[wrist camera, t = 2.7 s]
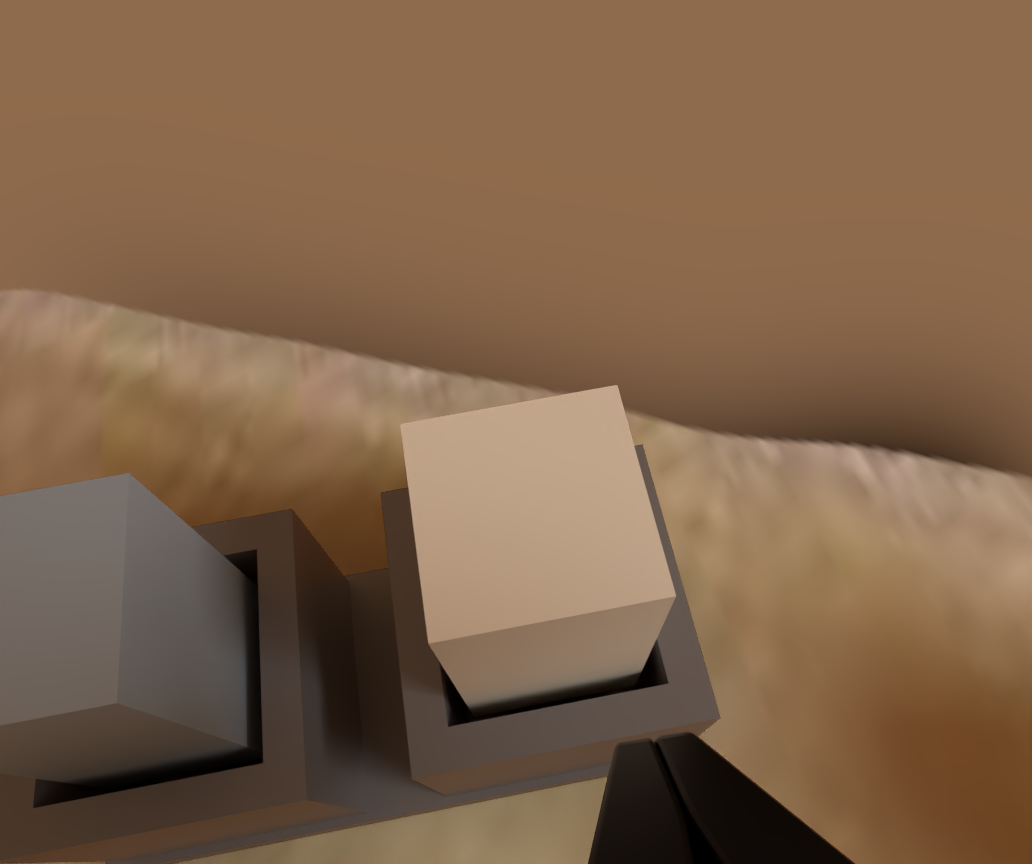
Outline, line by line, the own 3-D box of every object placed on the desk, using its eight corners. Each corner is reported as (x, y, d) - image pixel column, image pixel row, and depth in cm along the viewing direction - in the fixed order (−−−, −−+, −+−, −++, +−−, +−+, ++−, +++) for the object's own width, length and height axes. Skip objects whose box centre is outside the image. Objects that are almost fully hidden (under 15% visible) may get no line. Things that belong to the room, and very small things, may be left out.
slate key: (274, 756, 17) (116, 703, 11) (108, 788, 17) (-146, 753, 11) (269, 595, 19) (129, 472, 13) (116, 624, 19) (-99, 514, 13)
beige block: (635, 685, 18) (676, 596, 12) (474, 716, 18) (428, 643, 11) (598, 534, 19) (617, 385, 13) (451, 561, 19) (400, 423, 13)
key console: (696, 758, 21) (749, 723, 15) (125, 872, 20) (-45, 881, 15) (637, 533, 24) (661, 432, 18) (135, 627, 23) (-2, 554, 18)
